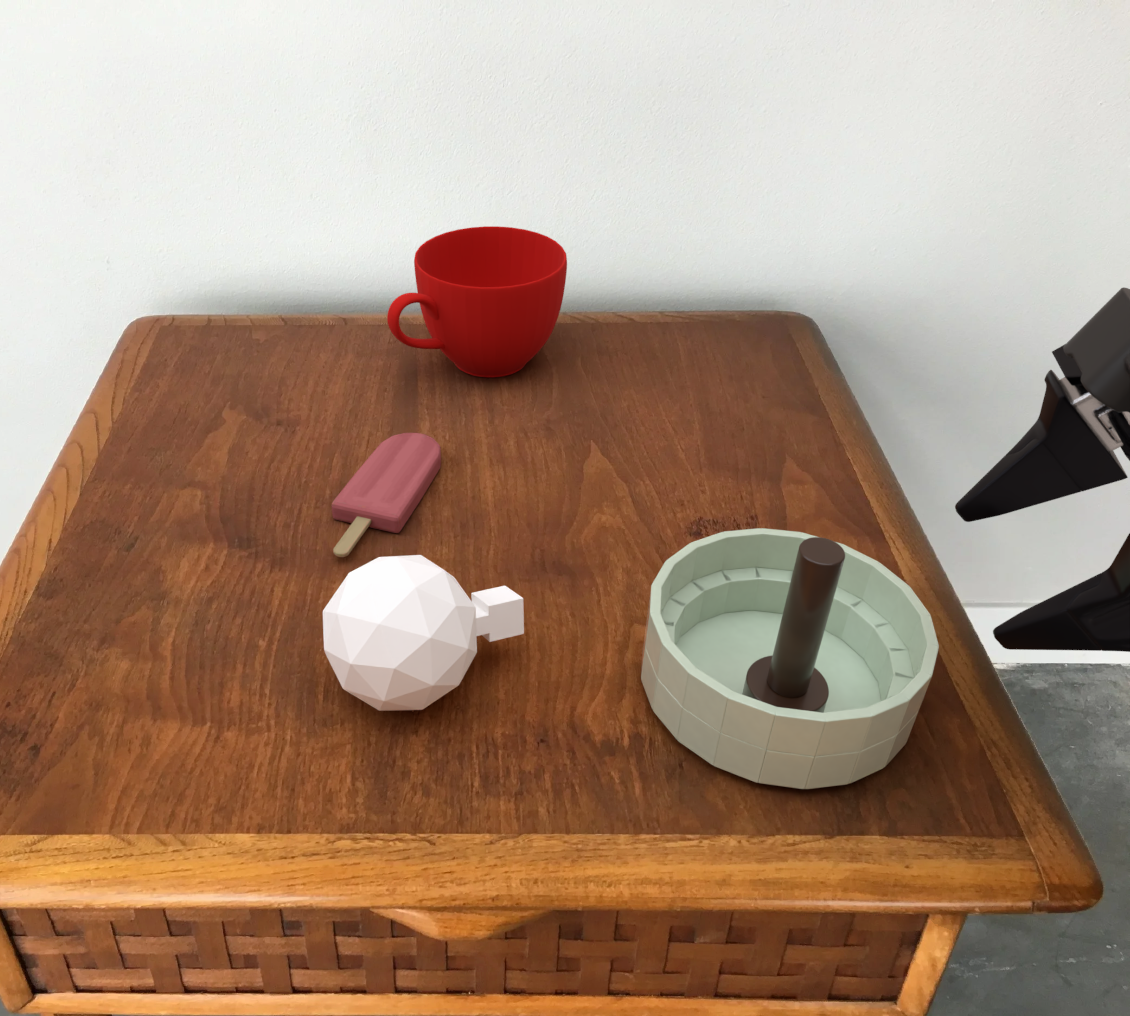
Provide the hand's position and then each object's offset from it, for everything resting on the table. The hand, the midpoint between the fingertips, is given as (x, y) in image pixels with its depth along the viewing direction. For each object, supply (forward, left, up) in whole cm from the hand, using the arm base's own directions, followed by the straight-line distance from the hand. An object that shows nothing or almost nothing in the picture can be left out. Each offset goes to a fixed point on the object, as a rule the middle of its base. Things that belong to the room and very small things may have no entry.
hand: (977, 572), depth 48 cm
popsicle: (+34, -17, -13) cm, 41 cm away
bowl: (+7, -3, -13) cm, 15 cm away
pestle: (+7, -1, -12) cm, 14 cm away
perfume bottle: (+27, 0, -13) cm, 30 cm away
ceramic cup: (+31, -38, -13) cm, 51 cm away
